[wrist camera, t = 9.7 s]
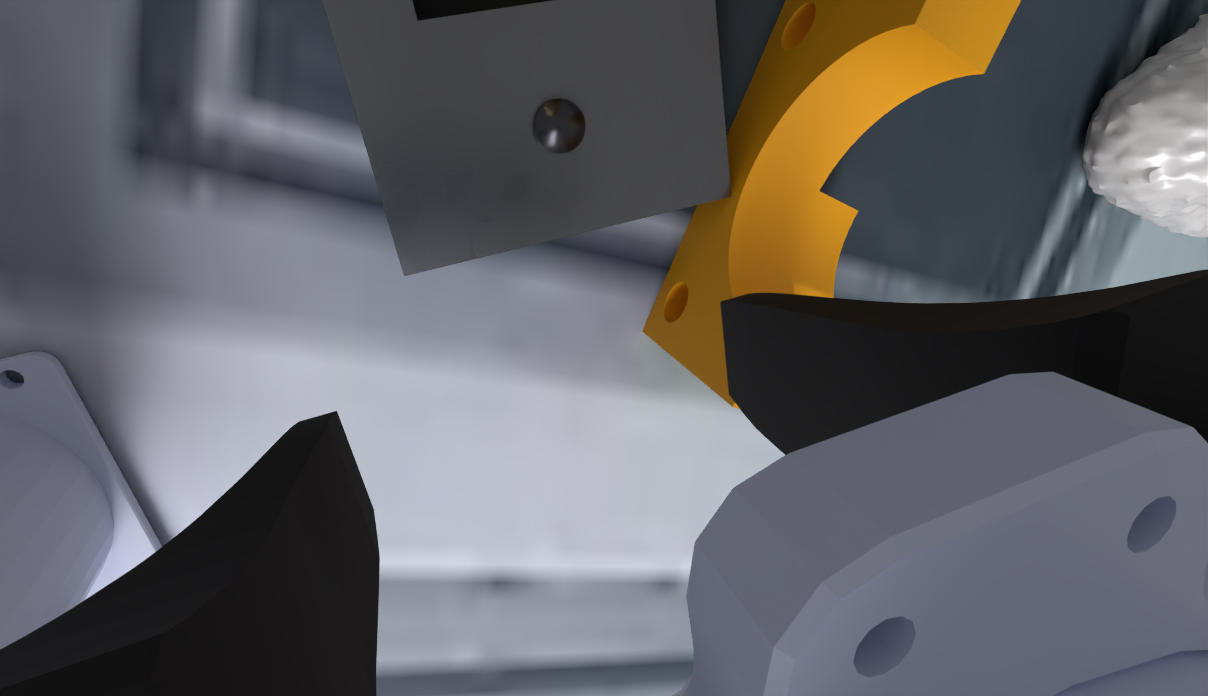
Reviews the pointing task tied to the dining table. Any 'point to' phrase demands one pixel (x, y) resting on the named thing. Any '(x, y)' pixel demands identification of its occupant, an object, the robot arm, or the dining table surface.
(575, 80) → the metal plate with hole
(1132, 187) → the sitting furry creature
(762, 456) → the dining table surface
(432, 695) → the dining table surface
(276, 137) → the dining table surface
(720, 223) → the pipe clamp
